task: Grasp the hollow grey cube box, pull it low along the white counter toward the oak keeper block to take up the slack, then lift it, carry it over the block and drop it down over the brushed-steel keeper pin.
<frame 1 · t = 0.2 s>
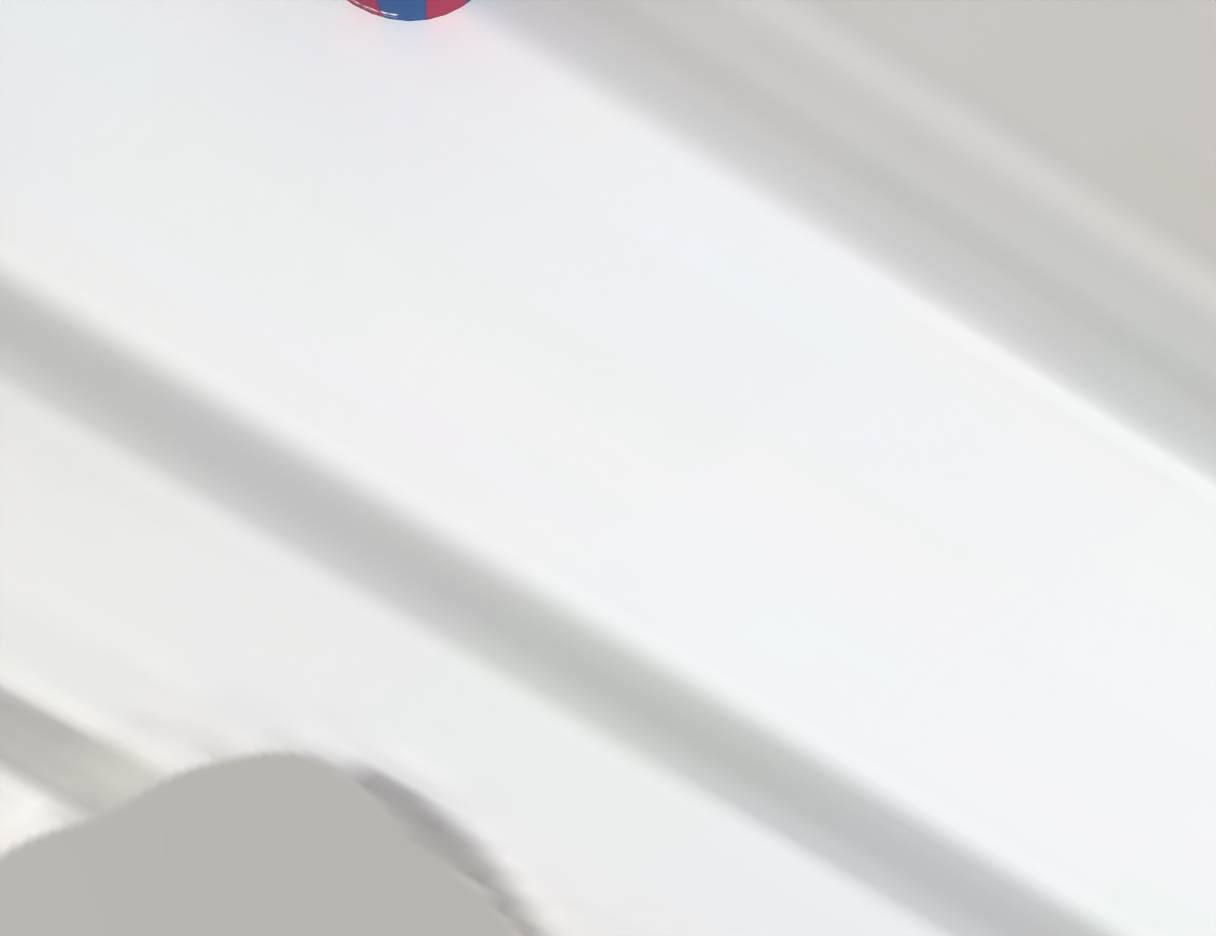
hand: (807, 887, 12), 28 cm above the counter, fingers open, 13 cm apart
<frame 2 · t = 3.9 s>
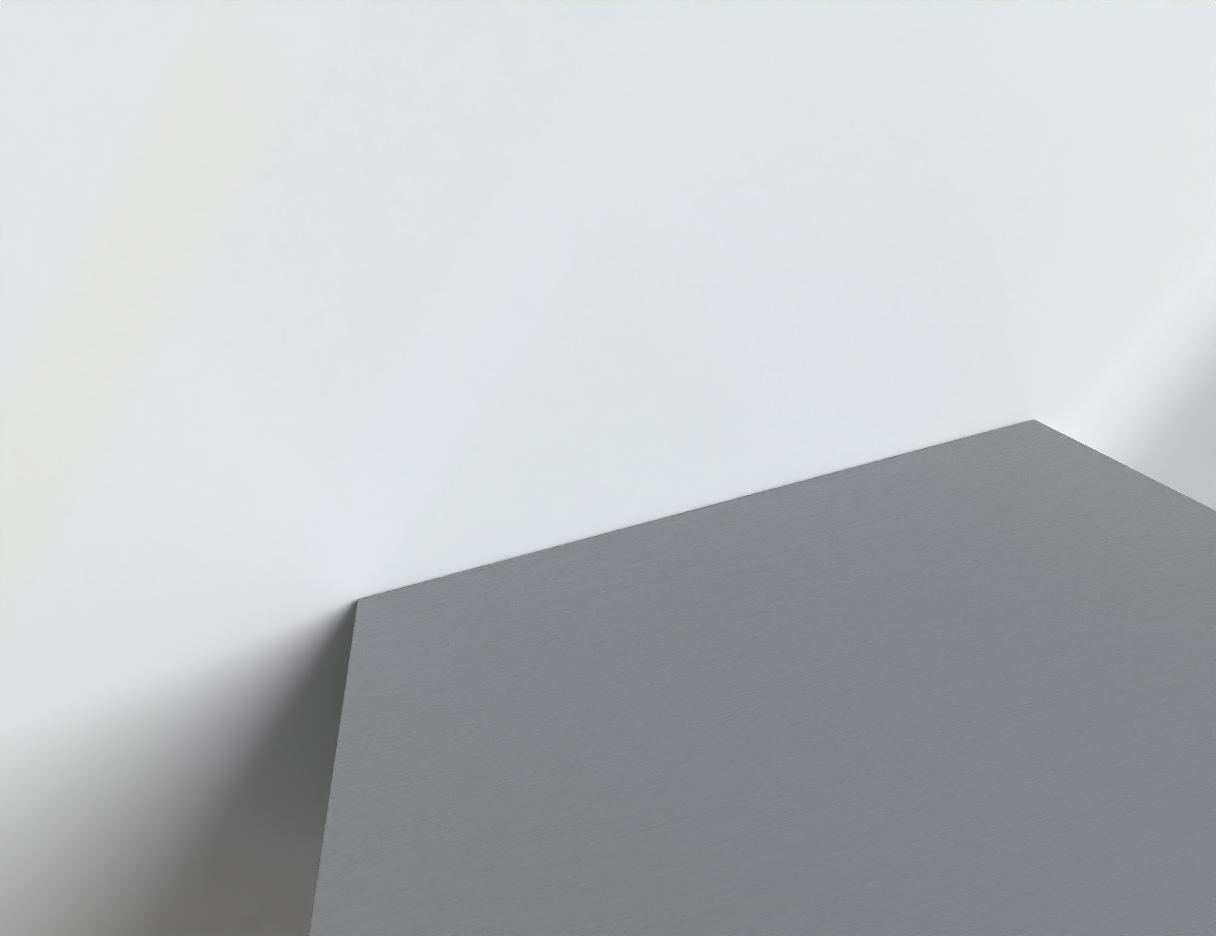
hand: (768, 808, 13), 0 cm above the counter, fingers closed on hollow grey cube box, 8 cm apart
hollow grey cube box: (762, 794, 14), on the counter, touching gripper
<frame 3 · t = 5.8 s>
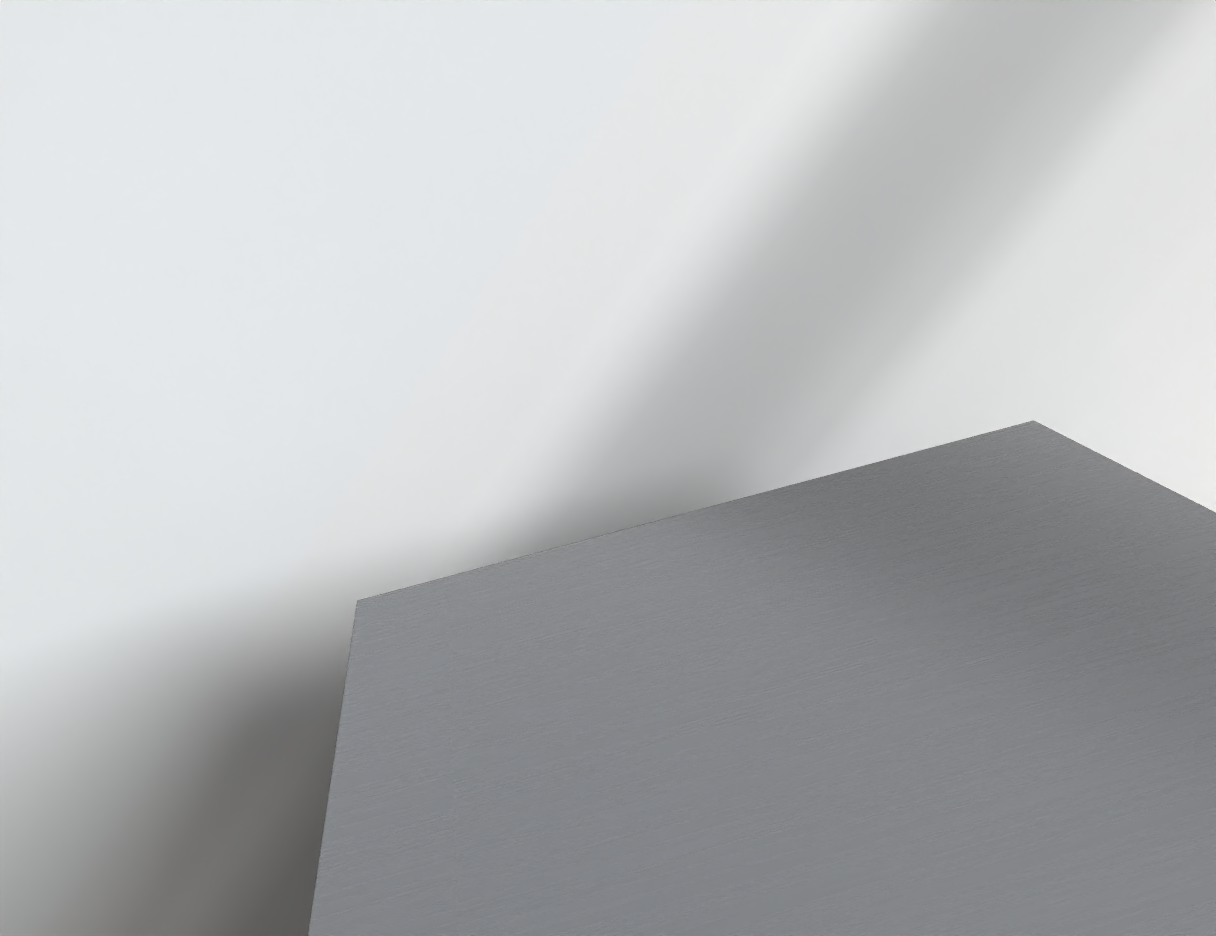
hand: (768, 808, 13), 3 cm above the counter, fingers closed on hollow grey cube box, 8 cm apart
hollow grey cube box: (762, 795, 14), point 3 cm above the counter, touching gripper
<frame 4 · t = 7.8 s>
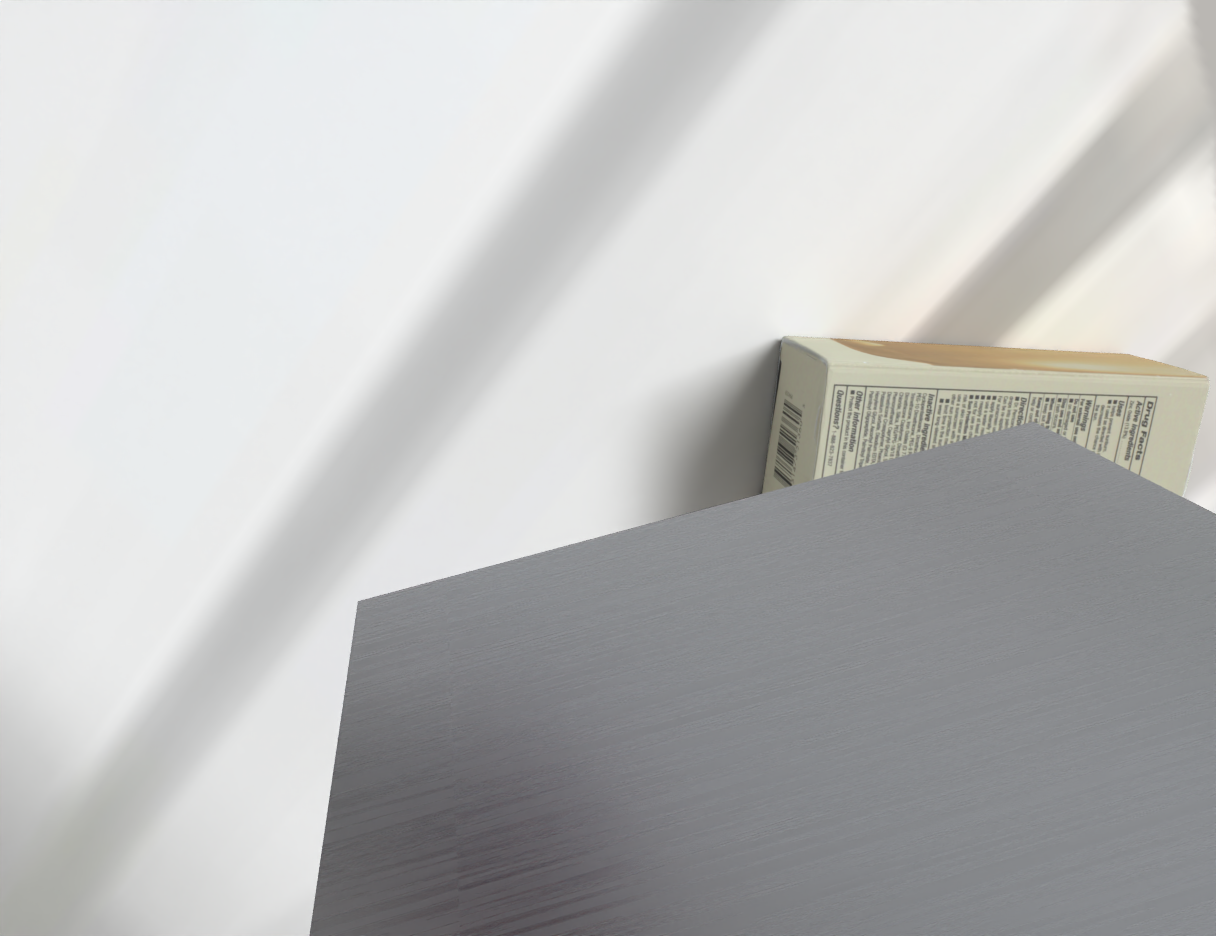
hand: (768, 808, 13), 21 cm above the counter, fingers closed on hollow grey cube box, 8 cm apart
hollow grey cube box: (762, 796, 14), point 21 cm above the counter, touching gripper
skincare box: (781, 440, 33), point 2 cm above the counter
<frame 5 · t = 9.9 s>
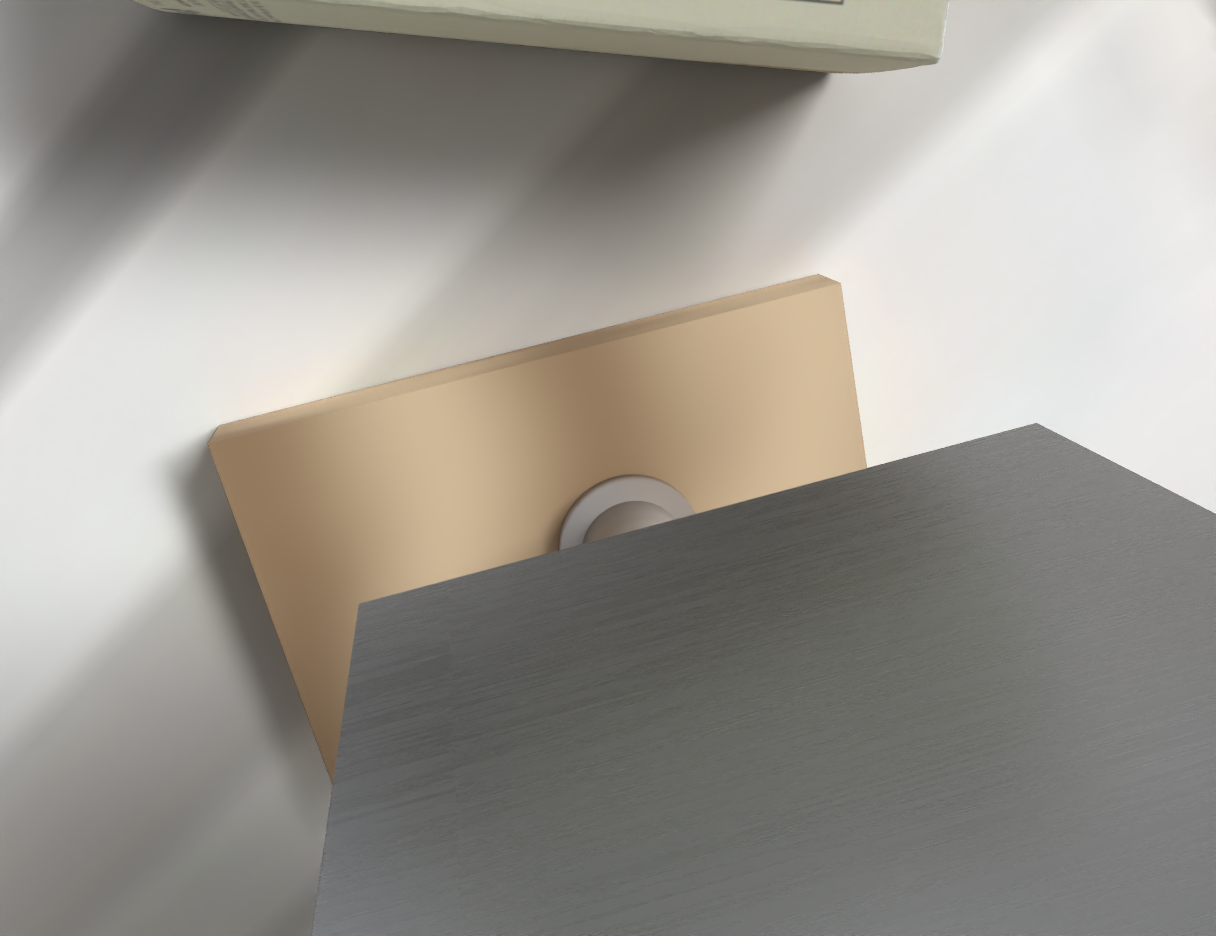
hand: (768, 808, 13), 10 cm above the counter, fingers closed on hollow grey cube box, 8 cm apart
keeper block: (572, 532, 22), on the counter
hollow grey cube box: (764, 799, 14), point 10 cm above the counter, touching gripper
when the fingers open (3 cm above the counter, at t = 11.8 s): hollow grey cube box drops 1 cm, resting on keeper block.
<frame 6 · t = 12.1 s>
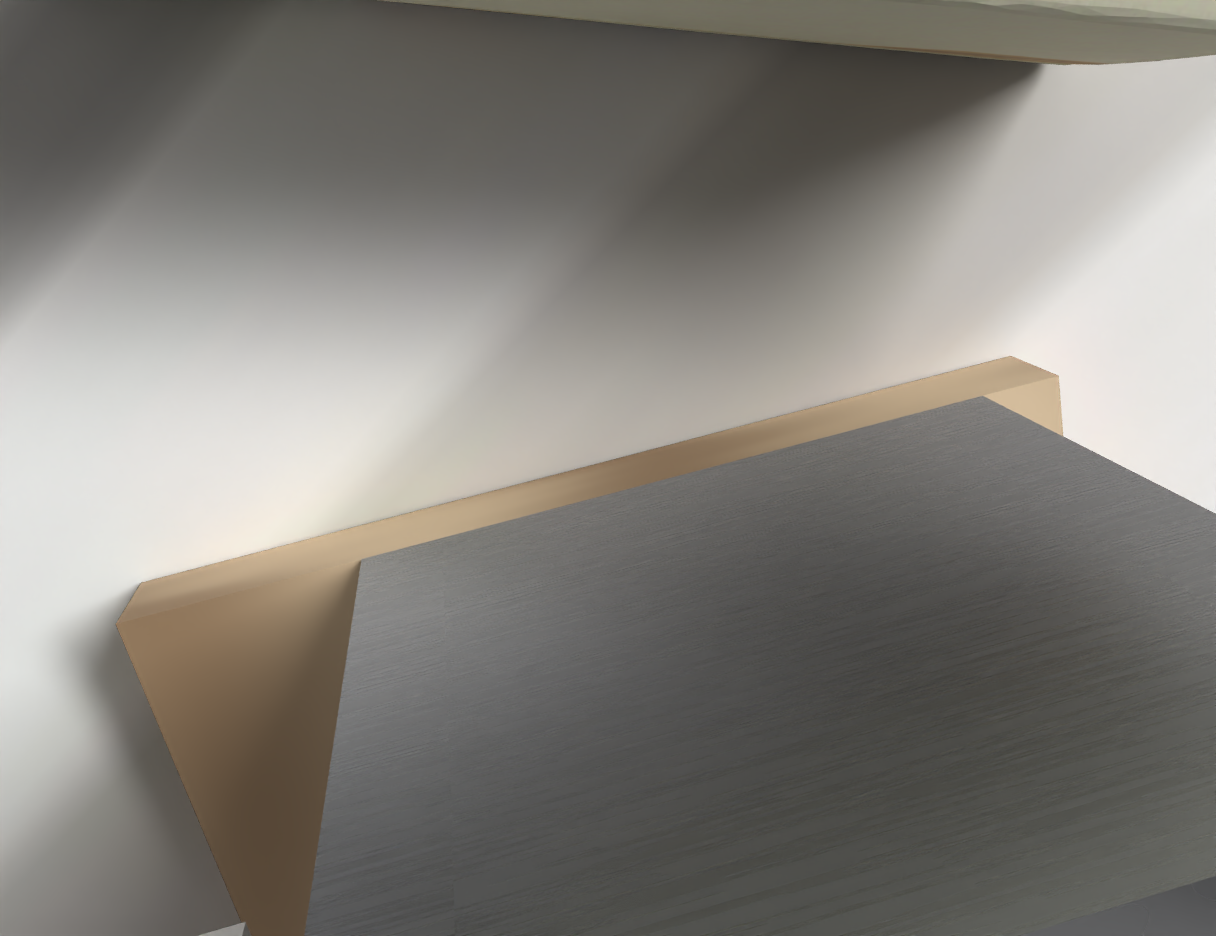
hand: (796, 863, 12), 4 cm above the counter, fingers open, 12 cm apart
keeper block: (649, 717, 16), on the counter
hollow grey cube box: (735, 744, 15), point 1 cm above the counter, touching keeper block
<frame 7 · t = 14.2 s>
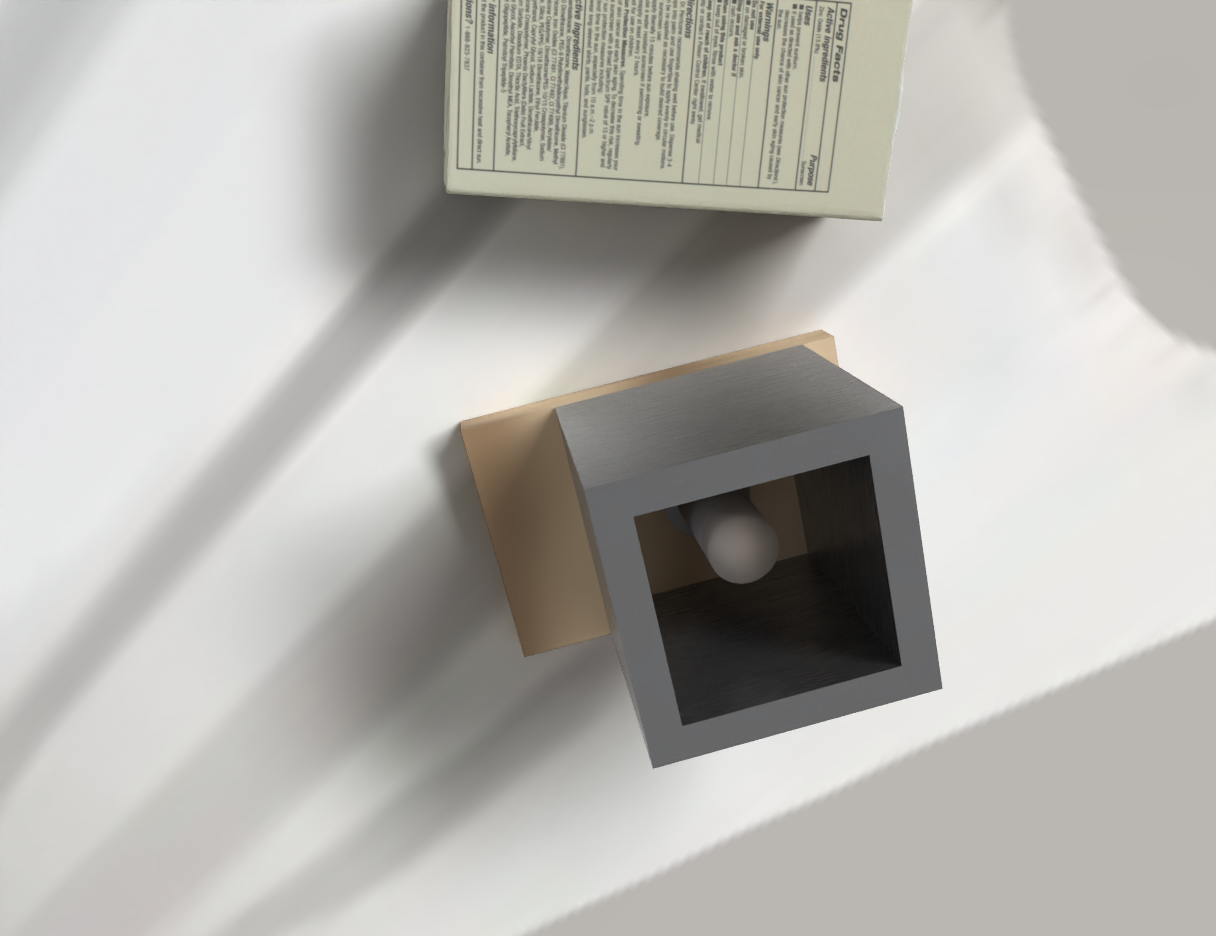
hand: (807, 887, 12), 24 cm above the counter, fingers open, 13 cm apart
keeper block: (668, 489, 36), on the counter
hollow grey cube box: (703, 493, 35), point 1 cm above the counter, touching keeper block
skincare box: (437, 67, 29), point 2 cm above the counter
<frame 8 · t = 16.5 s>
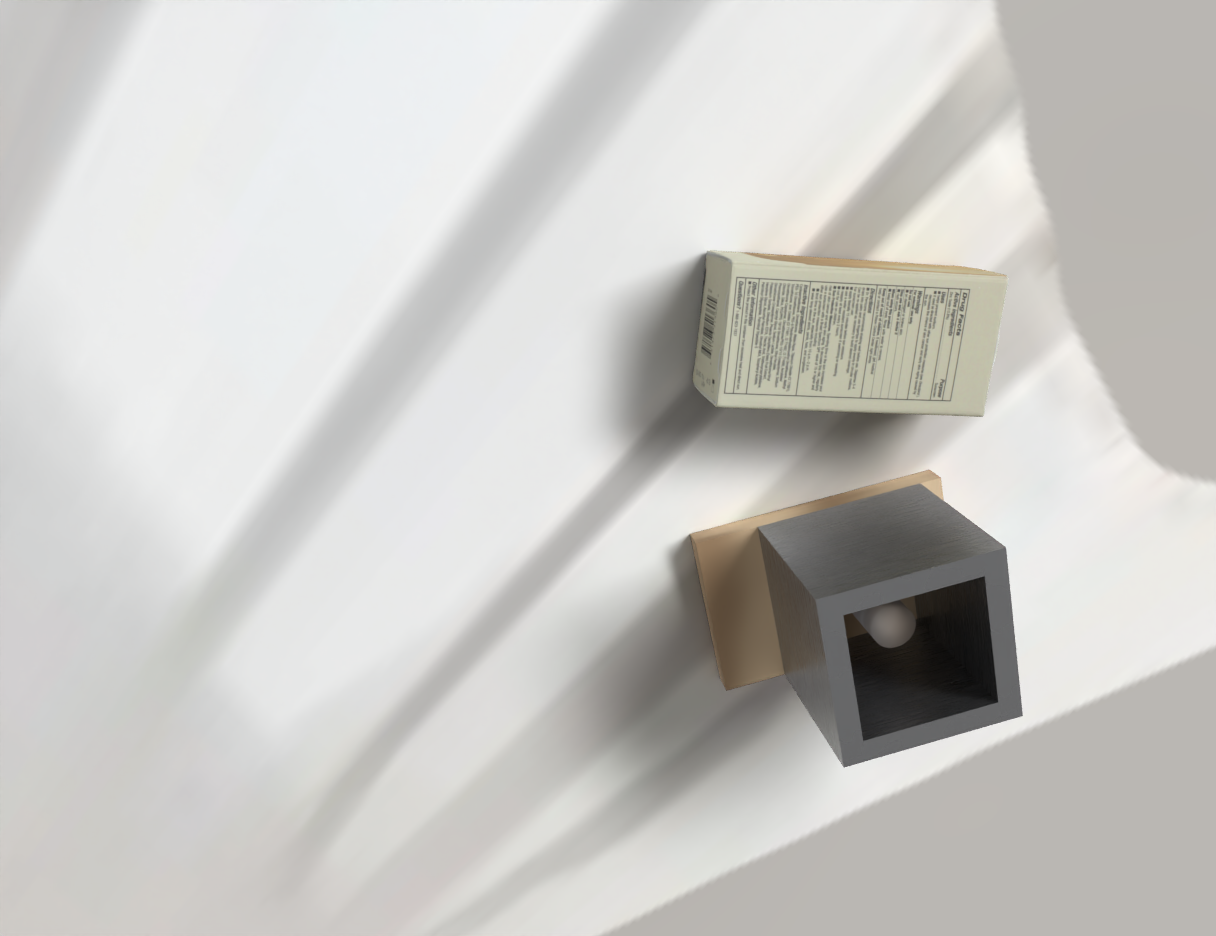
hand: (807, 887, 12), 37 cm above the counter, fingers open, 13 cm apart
keeper block: (823, 575, 53), on the counter
hollow grey cube box: (851, 580, 52), point 1 cm above the counter, touching keeper block
skincare box: (704, 322, 46), point 2 cm above the counter
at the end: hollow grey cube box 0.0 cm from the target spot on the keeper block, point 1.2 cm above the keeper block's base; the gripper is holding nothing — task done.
